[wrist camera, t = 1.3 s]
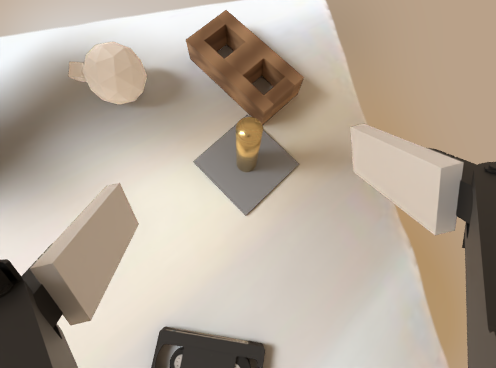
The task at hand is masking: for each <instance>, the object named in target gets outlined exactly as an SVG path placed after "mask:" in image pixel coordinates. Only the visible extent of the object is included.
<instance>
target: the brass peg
mask: <svg viewBox="0 0 496 368" xmlns="http://www.w3.org/2000/svg"><path fill="white" fill-rule="evenodd" d="M262 133H263V126H262V124H261V122H260V121H259V120H257V119H256V118H253V117H245V118H243V119H241V120H240V121H239V122H238V123H237V125H236V162H237V167H238V168H239V169H240V170H241V171H243V172H250V171H252V170H253V169H254V168H255V167H256V163H257V158H258V153H259V148H260V143H261V138H262Z"/></svg>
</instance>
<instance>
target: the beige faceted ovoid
mask: <svg viewBox="0 0 496 368" xmlns="http://www.w3.org/2000/svg"><path fill="white" fill-rule="evenodd" d="M68 77H71V78H73V79H75V80H77V81H80V82H87V83H88V85H89V88H90V89H91V90H92V91H93V92H94V93H95V94H96V95H97V96H98V97H99V98H101V99H102V100H104V101H108V102H111V103H115V104H118V105H121V104H125V103H129V102H133V101H135V100H136V99H137V98H138V97H139V96H140V95H141V93H142V92H143V90H144V87H145V83H146V80H147V74H146V72H145V69H144V67H143V64H142V62H141V60H140V59H139V58H138V56H137V55H136V54H135V53H134V52H133V51H132V49H131V48H128V47H125V46H123V45H120V44H118V43H115V42H109V43H103V44H98V45H95V46H94V47H93V48H92V49H91V50H90V51H89V52H88V54H87V55H86V56H85V62H84V63H81V62H69V75H68Z"/></svg>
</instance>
